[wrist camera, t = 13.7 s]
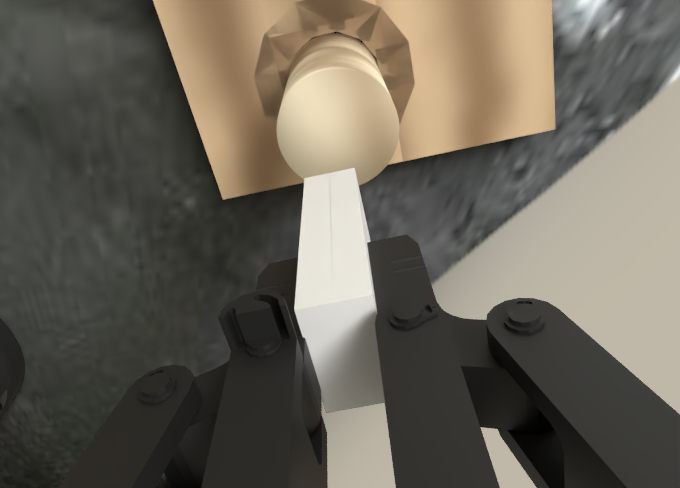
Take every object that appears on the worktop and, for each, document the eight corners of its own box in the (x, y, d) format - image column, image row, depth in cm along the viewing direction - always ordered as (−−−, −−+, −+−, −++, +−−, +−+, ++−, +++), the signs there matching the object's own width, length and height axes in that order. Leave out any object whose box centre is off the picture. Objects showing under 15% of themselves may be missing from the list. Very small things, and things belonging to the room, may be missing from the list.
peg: (302, 121, 37) (293, 201, 26) (280, 37, 34) (260, 84, 23) (382, 103, 37) (409, 176, 25) (366, 17, 34) (389, 54, 23)
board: (229, 182, 39) (223, 199, 37) (144, -69, 32) (128, -70, 29) (539, 116, 38) (555, 129, 35) (527, -168, 30) (546, -178, 27)
